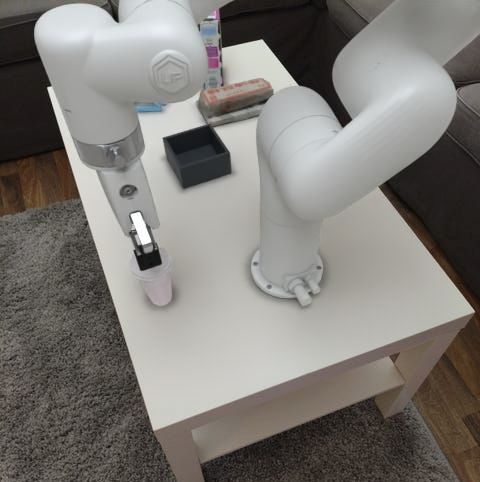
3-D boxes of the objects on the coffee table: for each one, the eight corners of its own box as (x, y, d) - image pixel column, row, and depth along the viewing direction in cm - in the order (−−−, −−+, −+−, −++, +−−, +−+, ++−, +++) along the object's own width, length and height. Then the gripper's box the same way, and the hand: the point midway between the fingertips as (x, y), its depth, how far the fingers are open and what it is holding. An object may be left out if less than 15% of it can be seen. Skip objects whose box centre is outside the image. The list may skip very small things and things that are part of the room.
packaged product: (207, 109, 96) (193, 85, 101) (209, 129, 100) (196, 105, 105) (283, 89, 98) (266, 67, 103) (282, 110, 102) (265, 88, 108)
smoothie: (183, 283, 77) (169, 226, 65) (176, 313, 73) (161, 260, 62) (147, 280, 77) (127, 224, 65) (139, 311, 74) (116, 257, 62)
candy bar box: (225, 93, 107) (219, 18, 93) (204, 95, 107) (196, 20, 93) (223, 68, 113) (218, -6, 99) (203, 70, 113) (196, -4, 99)
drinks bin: (231, 173, 91) (230, 152, 87) (183, 189, 89) (179, 168, 85) (212, 144, 97) (210, 123, 92) (166, 158, 95) (162, 137, 90)
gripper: (165, 176, 46) (185, 277, 60) (120, 90, 54) (147, 197, 69) (94, 197, 44) (132, 295, 59) (59, 106, 53) (100, 211, 67)
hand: (140, 242), depth 64 cm, fingers open, 9 cm apart
